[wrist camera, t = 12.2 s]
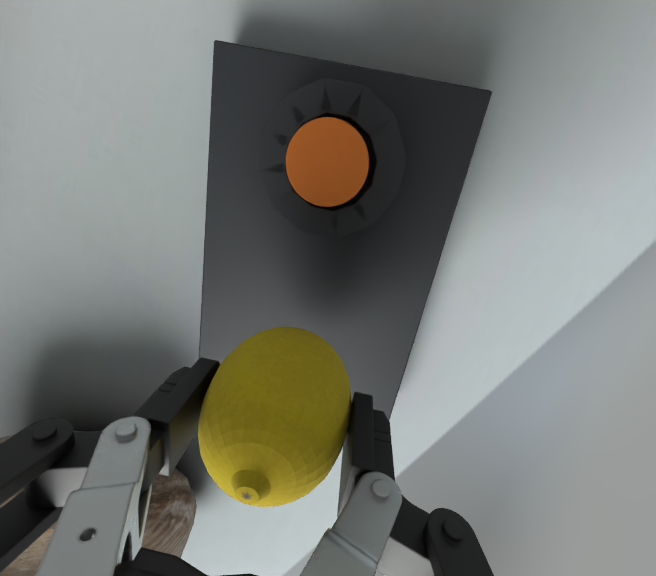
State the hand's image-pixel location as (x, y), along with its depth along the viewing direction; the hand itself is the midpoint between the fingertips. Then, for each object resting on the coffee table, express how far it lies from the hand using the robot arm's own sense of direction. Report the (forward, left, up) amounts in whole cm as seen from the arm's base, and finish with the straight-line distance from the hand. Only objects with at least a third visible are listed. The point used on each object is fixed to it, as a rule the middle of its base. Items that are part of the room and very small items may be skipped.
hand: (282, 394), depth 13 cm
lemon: (0, 0, -4) cm, 4 cm away
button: (0, -9, -4) cm, 10 cm away
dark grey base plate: (0, -4, -7) cm, 8 cm away
